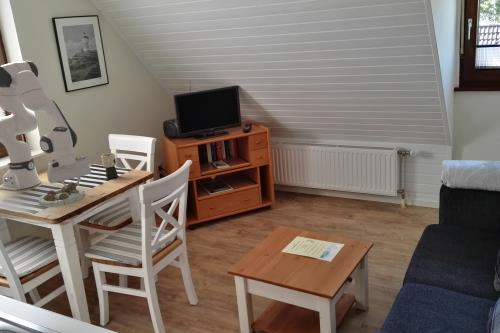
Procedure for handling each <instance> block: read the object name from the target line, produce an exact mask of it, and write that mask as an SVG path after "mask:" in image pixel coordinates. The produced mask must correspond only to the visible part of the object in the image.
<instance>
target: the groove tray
mask: <svg viewBox="0 0 500 333" xmlns="http://www.w3.org/2000/svg"><path fill="white" fill-rule="evenodd" d="M54 191H55V192H56V195H55V196H54V197H55V200H54V201H47V200H46V196H47V193H48V192H46V193H44V194H43V195H42V194H41V195H40V197H39V198H38V204H39V205H40V206H42V207H58V206H65V205H67V204H71V203H75V202H77V201H78V200H80V199H82V198H83V197H84V196H85V191H84V189H83V188H81V187H76V189H75V190H69V193H66V192H64V193H65V194H67V195H68V198H67V199H64V200H60V199H59V196H60V194H62V192H61V188H60V189H55V190H54Z"/></svg>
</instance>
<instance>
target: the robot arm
mask: <svg viewBox="0 0 500 333" xmlns="http://www.w3.org/2000/svg"><path fill="white" fill-rule="evenodd" d="M38 76H39V69H38V66H37V64H35V62H34V61H31V60H24V61H14V62H11V63H6V64H2V65H0V108H1V110H4V111H5V112H9V113H10V115H6V116H0V143H1V144H2V145H3V146H4V147H5V149H6V152H7V155H8V157H9V158H8V159H9V161H10V162H8V163H7V167H8V166H9V169H8V170H7V171H6V173H4V174H3V176H2V177H1V178H2V184H0V190H1V189H2V190H10V191H19V190H23V189H27V188H28V189H29V188H32V187H35V186H37V185H39V184H41V182H42V181H41V178H40V177H39V175H38V171H37V169H36V166H35V161H34V158H33V156H32V151H31V146H30V144H28V143H27V142H25V141H22V140H18V139H17V136H20V135H24V134H28V133H30V132H33V131H35V130H37V128H38V126H39V121H38V118H37V116H36V115H35V114H34V113H32V112H37V113H44V114H46V115H48V116H50V117H51V118H52V120H53V122H54V123H55V125H56V127H53V128H52V129H51V130H50V132H48V133H46V134H43V135H42V136H41V137H40V139H39V146H40V147H39V148H40V150H41V151H42V152H44V153H45V154H55V158H52V159H51V160H49V161H48V162H47V163H46V164H47V169H46V176H47V180H48V182H49V183H50V184H53V183H58V182H61V184H62V185H63V187H64V186H65V189H67V188H68V184H67V183H65V181H68V180H71V179H77V180H76V181H75V182H74V183H75V184H76V187H79V186H80V182H81V177H83V176H87V175H90V174H91V173H92V170H91V169H92V168H91V167H90V159H89V157H87V156H84V155H83V156H79V157H76V152H75V150H74V148H75V146H76V145H77V143H78V135H77V133H76V132H75V131H74V130H73V128H72V127H71V125H70V124H69V122H68V121H67V119H66V117H65V116H64V114H63V113H62V110H61V109H60V107H59V105H58V104H57V103H56V101H54V100H53V99H51V98H49V97H48V96H47V94H46V93H45V91H44V89H43V87H42V85H41V83H40V81H39V79H38V78H39V77H38ZM28 110H29V111H28ZM30 111H32V112H30Z"/></svg>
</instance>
